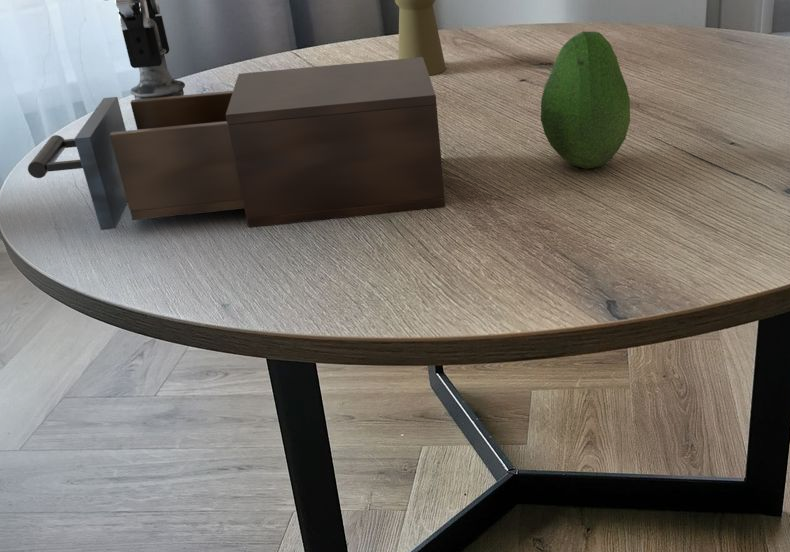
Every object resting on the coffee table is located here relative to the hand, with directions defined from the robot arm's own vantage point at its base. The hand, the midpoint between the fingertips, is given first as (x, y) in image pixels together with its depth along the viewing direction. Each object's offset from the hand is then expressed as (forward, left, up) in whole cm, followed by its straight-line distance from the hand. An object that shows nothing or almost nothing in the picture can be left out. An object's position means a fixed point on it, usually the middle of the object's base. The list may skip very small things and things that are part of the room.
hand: (150, 58), depth 105 cm
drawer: (+5, -28, -6) cm, 29 cm away
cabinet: (+20, -28, -7) cm, 35 cm away
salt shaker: (0, 0, -7) cm, 7 cm away
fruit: (+42, -28, -7) cm, 51 cm away
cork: (+30, +11, -7) cm, 33 cm away
